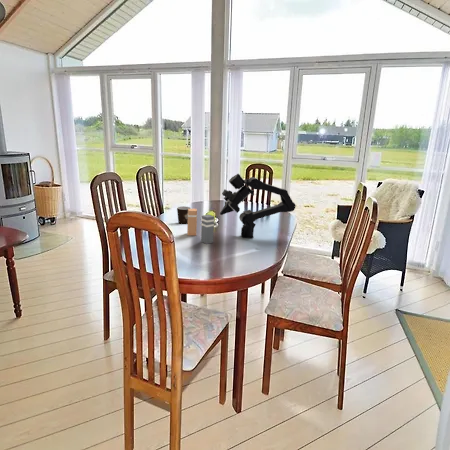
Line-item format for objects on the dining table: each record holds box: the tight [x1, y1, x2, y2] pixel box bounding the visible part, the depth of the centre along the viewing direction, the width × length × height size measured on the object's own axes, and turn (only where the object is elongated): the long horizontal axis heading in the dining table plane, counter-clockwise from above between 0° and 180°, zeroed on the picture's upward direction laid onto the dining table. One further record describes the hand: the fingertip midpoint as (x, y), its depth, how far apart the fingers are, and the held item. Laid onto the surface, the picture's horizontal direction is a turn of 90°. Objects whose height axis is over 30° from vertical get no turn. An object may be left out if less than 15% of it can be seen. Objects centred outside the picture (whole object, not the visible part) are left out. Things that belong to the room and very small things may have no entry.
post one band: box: [186, 208, 198, 236], centre depth 186 cm, size 5×5×14 cm
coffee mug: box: [176, 205, 192, 225], centre depth 213 cm, size 12×9×10 cm
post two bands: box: [200, 214, 215, 245], centre depth 175 cm, size 5×5×14 cm
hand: (220, 214), depth 188 cm, fingers closed
